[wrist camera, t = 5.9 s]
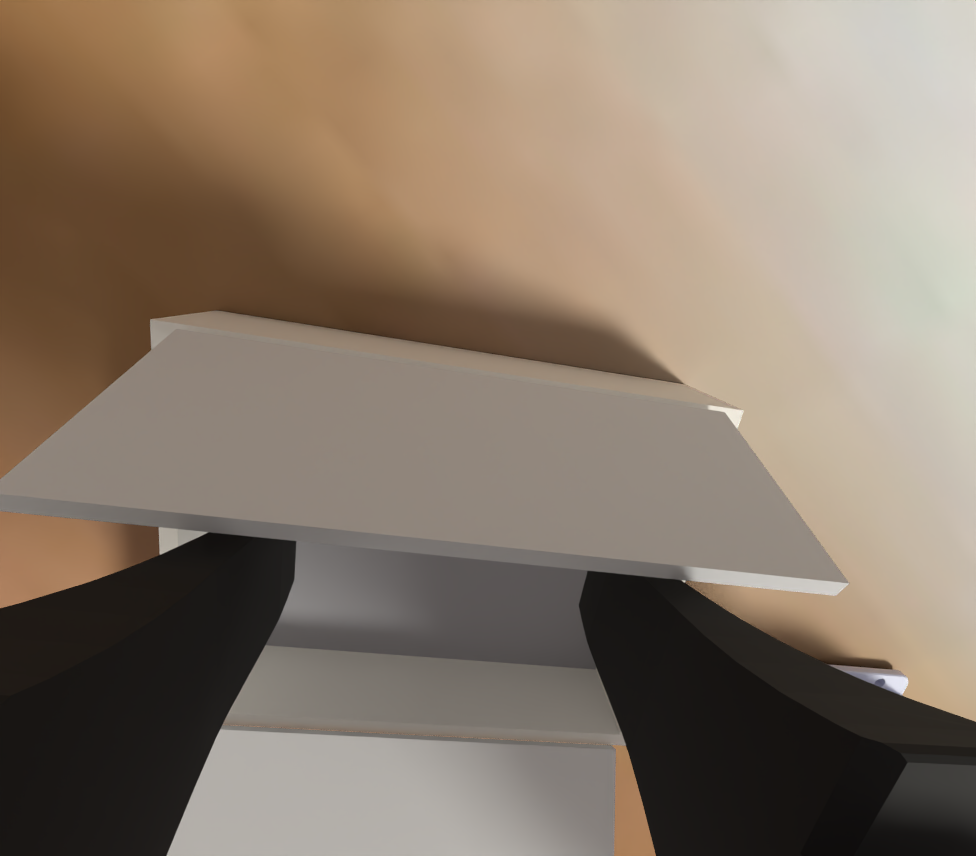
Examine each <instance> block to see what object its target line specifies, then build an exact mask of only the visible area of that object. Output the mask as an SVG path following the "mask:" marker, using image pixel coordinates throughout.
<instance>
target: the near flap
mask: <svg viewBox="0 0 976 856" xmlns="http://www.w3.org/2000/svg"><path fill="white" fill-rule="evenodd" d="M0 511H5V512H15V513H24V514H34V515H44V516H54V517H64V518H74V519H84V520H94V521H103V522H113V523H123V524H133V525H143V526H153V527H163V528H173V529H182V530H192V531H202V532H212V533H222V534H232V535H242V536H252V537H261V538H271V539H281V540H291V541H301V542H311V543H321V544H331V545H340V546H350V547H360V548H370V549H380V550H390V551H400V552H409V553H419V554H429V555H439V556H449V557H459V558H469V559H479V560H488V561H498V562H508V563H518V564H528V565H538V566H548V567H558V568H567V569H577V570H587V571H597V572H607V573H617V574H627V575H637V576H646V577H656V578H666V579H676V580H686V581H696V582H706V583H716V584H725V585H735V586H745V587H755V588H765V589H775V590H785V591H795V592H804V593H814V594H824V595H834V596H836V595H837V594H838V593H839V592H841V591H842V590H843V589H844V588H845V587H846V586H847V585H848V584H849V582H848V581H847V580H846V578H845V577H844V575H843V574H842V573H841V571H840V570H839V569H838V567H837V566H836V564H835V563H834V562H833V560H832V559H831V558H830V556H829V555H828V553H827V552H826V551H825V549H824V548H823V546H822V545H821V544H820V542H819V541H818V540H817V538H816V537H815V535H814V534H813V533H812V531H811V530H810V529H809V527H808V526H807V524H806V523H805V522H804V520H803V519H802V518H801V516H800V515H799V513H798V512H797V511H796V509H795V508H794V507H793V505H792V504H791V502H790V501H789V500H788V498H787V497H786V496H785V494H784V493H783V491H782V490H781V489H780V487H779V486H778V485H777V483H776V482H775V480H774V479H773V478H772V476H771V475H770V474H769V472H768V471H767V469H766V468H765V467H764V465H763V464H762V463H761V461H760V460H759V458H758V457H757V456H756V454H755V453H754V451H753V450H752V449H751V447H750V446H749V445H748V443H747V442H746V440H745V439H744V438H743V436H742V435H741V434H740V432H739V431H738V429H737V428H736V427H735V425H734V424H733V423H732V421H731V420H730V418H729V417H728V416H727V414H726V413H725V412H721V411H714V410H708V409H701V408H695V407H688V406H681V405H675V404H668V403H662V402H655V401H649V400H642V399H635V398H629V397H622V396H616V395H609V394H603V393H596V392H589V391H583V390H576V389H570V388H563V387H557V386H550V385H543V384H537V383H530V382H524V381H517V380H511V379H504V378H497V377H491V376H484V375H478V374H471V373H465V372H458V371H451V370H445V369H438V368H432V367H425V366H419V365H412V364H405V363H399V362H392V361H386V360H379V359H373V358H366V357H359V356H353V355H346V354H340V353H333V352H327V351H320V350H313V349H307V348H300V347H294V346H287V345H281V344H274V343H267V342H261V341H254V340H248V339H241V338H235V337H228V336H221V335H215V334H208V333H202V332H195V331H189V330H182V329H175V330H174V331H173V332H172V333H171V334H170V335H168V336H167V337H166V338H165V339H164V340H163V341H161V342H160V343H159V344H158V345H157V346H156V347H154V348H153V349H152V350H151V351H150V352H149V353H147V354H146V355H145V356H144V357H143V358H142V359H140V360H139V361H138V362H137V363H136V364H135V365H133V366H132V367H131V368H130V369H129V370H127V371H126V372H125V373H124V374H123V375H122V376H120V377H119V378H118V379H117V380H116V381H115V382H113V383H112V384H111V385H110V386H109V387H108V388H106V389H105V390H104V391H103V392H102V393H101V394H99V395H98V396H97V397H96V398H95V399H94V400H92V401H91V402H90V403H89V404H88V405H87V406H85V407H84V408H83V409H82V410H81V411H80V412H78V413H77V414H76V415H75V416H74V417H73V418H71V419H70V420H69V421H68V422H67V423H66V424H64V425H63V426H62V427H61V428H60V429H59V430H57V431H56V432H55V433H54V434H53V435H51V436H50V437H49V438H48V439H47V440H46V441H44V442H43V443H42V444H41V445H40V446H39V447H37V448H36V449H35V450H34V451H33V452H32V453H30V454H29V455H28V456H27V457H26V458H25V459H23V460H22V461H21V462H20V463H19V464H18V465H16V466H15V467H14V468H13V469H12V470H11V471H9V472H8V473H7V474H6V475H5V476H4V477H2V478H1V479H0Z"/></svg>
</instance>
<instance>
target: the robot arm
mask: <svg viewBox="0 0 976 856" xmlns="http://www.w3.org/2000/svg"><path fill="white" fill-rule="evenodd" d="M295 559H296V541H291V540H281V539H271V538H261V537H252V536H242V535H232V534H222V533H212V532H208V533H206V534H204V535H202V536H200V537H198V538H196V539H194V540H191V541H189V542H187V543H185V544H183V545H180V546H178V547H176V548H174V549H172V550H170V551H167V552H165V553H163V554H161V555H159V556H156V557H154V558H152V559H149V560H147V561H145V562H142V563H140V564H137V565H135V566H132V567H129V568H127V569H124V570H121V571H119V572H116V573H113V574H111V575H108V576H105V577H102V578H100V579H97V580H94V581H91V582H88V583H85V584H82V585H79V586H75V587H72V588H69V589H65V590H62V591H59V592H55V593H52V594H49V595H46V596H42V597H39V598H36V599H32V600H29V601H26V602H23V603H19V604H15V605H12V606H8V607H4V608H0V856H167V853H168V851H169V848H170V846H171V844H172V841H173V839H174V836H175V834H176V832H177V829H178V827H179V824H180V822H181V819H182V817H183V815H184V812H185V810H186V807H187V805H188V802H189V800H190V798H191V795H192V793H193V790H194V788H195V786H196V783H197V781H198V779H199V776H200V774H201V772H202V769H203V767H204V765H205V762H206V760H207V758H208V755H209V753H210V751H211V749H212V746H213V744H214V742H215V739H216V737H217V735H218V733H219V731H220V729H221V727H222V725H223V723H224V721H225V719H226V717H227V715H228V713H229V711H230V709H231V707H232V705H233V703H234V702H235V700H236V698H237V696H238V694H239V692H240V691H241V689H242V687H243V685H244V683H245V682H246V680H247V678H248V676H249V674H250V672H251V671H252V669H253V667H254V665H255V663H256V661H257V660H258V658H259V656H260V654H261V652H262V651H263V649H264V647H265V645H266V643H267V641H268V639H269V638H270V636H271V634H272V632H273V630H274V628H275V626H276V624H277V623H278V621H279V619H280V616H281V614H282V611H283V609H284V606H285V604H286V601H287V599H288V596H289V593H290V590H291V588H292V585H293V582H294V578H295ZM579 609H580V614H581V619H582V623H583V628H584V632H585V636H586V640H587V643H588V646H589V649H590V652H591V654H592V657H593V660H594V662H595V665H596V668H597V670H598V673H599V676H600V678H601V681H602V683H603V686H604V688H605V691H606V694H607V696H608V699H609V701H610V704H611V706H612V709H613V712H614V714H615V717H616V719H617V722H618V725H619V727H620V730H621V732H622V735H623V738H624V741H625V744H626V747H627V750H628V753H629V756H630V759H631V763H632V766H633V770H634V774H635V777H636V781H637V784H638V788H639V791H640V795H641V799H642V802H643V806H644V810H645V814H646V818H647V822H648V826H649V830H650V833H651V837H652V841H653V845H654V849H655V853H656V856H976V722H974V721H972V720H969V719H966V718H963V717H960V716H957V715H954V714H952V713H949V712H946V711H943V710H940V709H937V708H934V707H931V706H929V705H926V704H923V703H920V702H917V701H914V700H912V699H909V698H906V697H904V696H902V694H903V692H904V690H905V689H906V687H907V685H908V678H907V677H906V676H905V675H904V674H903V673H901V672H900V671H898V670H891V669H878V668H866V667H853V666H841V665H828V664H826V663H823V662H821V661H819V660H817V659H815V658H813V657H811V656H809V655H807V654H805V653H803V652H800V651H798V650H796V649H794V648H792V647H790V646H788V645H787V644H785V643H783V642H781V641H779V640H777V639H775V638H773V637H771V636H770V635H768V634H766V633H764V632H762V631H761V630H759V629H757V628H755V627H754V626H752V625H750V624H748V623H746V622H745V621H743V620H741V619H740V618H738V617H736V616H735V615H733V614H731V613H730V612H728V611H726V610H725V609H723V608H722V607H720V606H719V605H717V604H716V603H714V602H713V601H711V600H709V599H708V598H706V597H705V596H703V595H702V594H700V593H699V592H697V591H696V590H694V589H693V588H691V587H690V586H689V585H687V584H686V583H684V582H683V581H681V580H676V579H666V578H656V577H646V576H637V575H627V574H617V573H607V572H597V571H587V575H586V579H585V583H584V586H583V590H582V594H581V598H580V602H579Z"/></svg>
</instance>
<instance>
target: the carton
mask: <svg viewBox="0 0 976 856" xmlns="http://www.w3.org/2000/svg"><path fill="white" fill-rule="evenodd" d="M175 329H182V330H189V331H195V332H202V333H208V334H215V335H221V336H228V337H235V338H241V339H248V340H254V341H261V342H267V343H274V344H281V345H287V346H294V347H300V348H307V349H313V350H320V351H327V352H333V353H340V354H346V355H353V356H359V357H366V358H373V359H379V360H386V361H392V362H399V363H405V364H412V365H419V366H425V367H432V368H438V369H445V370H451V371H458V372H465V373H471V374H478V375H484V376H491V377H497V378H504V379H511V380H517V381H524V382H530V383H537V384H543V385H550V386H557V387H563V388H570V389H576V390H583V391H589V392H596V393H603V394H609V395H616V396H622V397H629V398H635V399H642V400H649V401H655V402H662V403H668V404H675V405H681V406H688V407H695V408H701V409H708V410H714V411H721V412H725V413H726V414H727V416H728V417H729V418H730V420H731V421H732V423H733V424H734V425H735V427H736V428H737V429H738V426H739V423H740V420H741V417H742V414H743V411H744V410H742V409H739V408H737V407H735V406H733V405H730V404H728V403H726V402H724V401H721V400H719V399H717V398H715V397H712V396H710V395H708V394H706V393H703V392H701V391H699V390H697V389H694V388H692V387H690V386H688V385H686V384H679V383H673V382H667V381H660V380H654V379H648V378H641V377H635V376H629V375H623V374H616V373H610V372H604V371H597V370H591V369H585V368H578V367H572V366H566V365H559V364H553V363H547V362H541V361H534V360H528V359H522V358H515V357H509V356H503V355H496V354H490V353H484V352H477V351H471V350H465V349H458V348H452V347H446V346H440V345H433V344H427V343H421V342H414V341H408V340H402V339H395V338H389V337H383V336H376V335H370V334H364V333H358V332H351V331H345V330H339V329H332V328H326V327H320V326H313V325H307V324H301V323H294V322H288V321H282V320H275V319H269V318H263V317H257V316H250V315H244V314H238V313H231V312H225V311H219V310H215V311H208V312H201V313H193V314H186V315H178V316H171V317H163V318H156V319H150V332H151V350H152V349H153V348H154V347H156V346H157V345H158V344H159V343H160V342H161V341H163V340H164V339H165V338H166V337H167V336H168V335H170V334H171V333H172V332H173V331H174V330H175ZM206 533H208V532H202V531H192V530H182V529H173V528H163V527H159V549H160V555H161V554H163V553H165V552H167V551H170V550H172V549H174V548H176V547H178V546H180V545H183V544H185V543H187V542H189V541H191V540H194V539H196V538H198V537H200V536H202V535H204V534H206ZM586 575H587V570H577V569H567V568H558V567H548V566H538V565H528V564H518V563H508V562H498V561H488V560H479V559H469V558H459V557H449V556H439V555H429V554H419V553H409V552H400V551H390V550H380V549H370V548H360V547H350V546H340V545H331V544H321V543H311V542H301V541H296V559H295V578H294V582H293V585H292V588H291V590H290V593H289V596H288V599H287V601H286V604H285V606H284V609H283V611H282V614H281V616H280V619H279V621H278V623H277V624H276V626H275V628H274V630H273V632H272V634H271V636H270V638H269V639H268V641H267V643H266V645H265V647H264V649H263V651H262V652H261V654H260V656H259V658H258V660H257V661H256V663H255V665H254V667H253V669H252V671H251V672H250V674H249V676H248V678H247V680H246V682H245V683H244V685H243V687H242V689H241V691H240V692H239V694H238V696H237V698H236V700H235V702H234V703H233V705H232V707H231V709H230V711H229V713H228V715H227V717H226V719H225V721H224V723H223V725H241V726H260V727H279V728H299V729H318V730H337V731H356V732H375V733H394V734H414V735H433V736H452V737H471V738H490V739H509V740H529V741H548V742H567V743H586V744H605V745H624V746H626V744H625V741H624V738H623V735H622V732H621V730H620V727H619V725H618V722H617V719H616V717H615V714H614V712H613V709H612V706H611V704H610V701H609V699H608V696H607V694H606V691H605V688H604V686H603V683H602V681H601V678H600V676H599V673H598V670H597V668H596V665H595V662H594V660H593V657H592V654H591V652H590V649H589V646H588V643H587V640H586V636H585V632H584V628H583V623H582V619H581V614H580V609H579V602H580V598H581V594H582V590H583V586H584V583H585V579H586ZM681 581H683V582H684V583H685V582H686V580H681Z"/></svg>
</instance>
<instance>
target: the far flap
mask: <svg viewBox="0 0 976 856" xmlns="http://www.w3.org/2000/svg"><path fill="white" fill-rule="evenodd" d="M615 763H616V749H615V748H613V747H612V746H611V745H596V744H577V743H558V742H539V741H519V740H500V739H481V738H462V737H442V736H423V735H404V734H385V733H366V732H346V731H327V730H308V729H289V728H270V727H250V726H231V725H222V727H221V729H220V731H219V733H218V735H217V737H216V739H215V742H214V744H213V746H212V749H211V751H210V753H209V755H208V758H207V760H206V762H205V765H204V767H203V769H202V772H201V774H200V776H199V779H198V781H197V783H196V786H195V788H194V790H193V793H192V795H191V798H190V800H189V802H188V805H187V807H186V810H185V812H184V815H183V817H182V819H181V822H180V824H179V827H178V829H177V832H176V834H175V836H174V839H173V841H172V844H171V846H170V848H169V851H168V853H167V856H614V823H615Z"/></svg>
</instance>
